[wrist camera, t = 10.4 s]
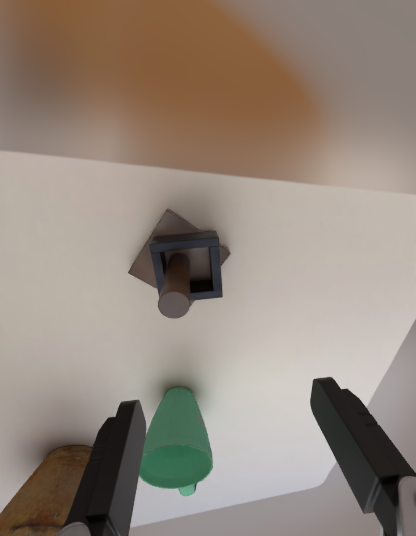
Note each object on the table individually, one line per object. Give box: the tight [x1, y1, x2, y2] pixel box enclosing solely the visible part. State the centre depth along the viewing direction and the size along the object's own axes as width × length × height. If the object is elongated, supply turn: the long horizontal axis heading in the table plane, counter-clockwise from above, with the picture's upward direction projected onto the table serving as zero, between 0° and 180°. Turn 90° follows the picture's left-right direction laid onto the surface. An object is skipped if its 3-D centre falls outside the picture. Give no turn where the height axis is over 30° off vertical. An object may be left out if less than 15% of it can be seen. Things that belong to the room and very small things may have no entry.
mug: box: [139, 387, 213, 496], centre depth 34 cm, size 15×10×10 cm
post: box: [128, 209, 230, 318], centre depth 23 cm, size 9×9×11 cm
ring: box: [149, 231, 223, 301], centre depth 26 cm, size 7×7×3 cm
